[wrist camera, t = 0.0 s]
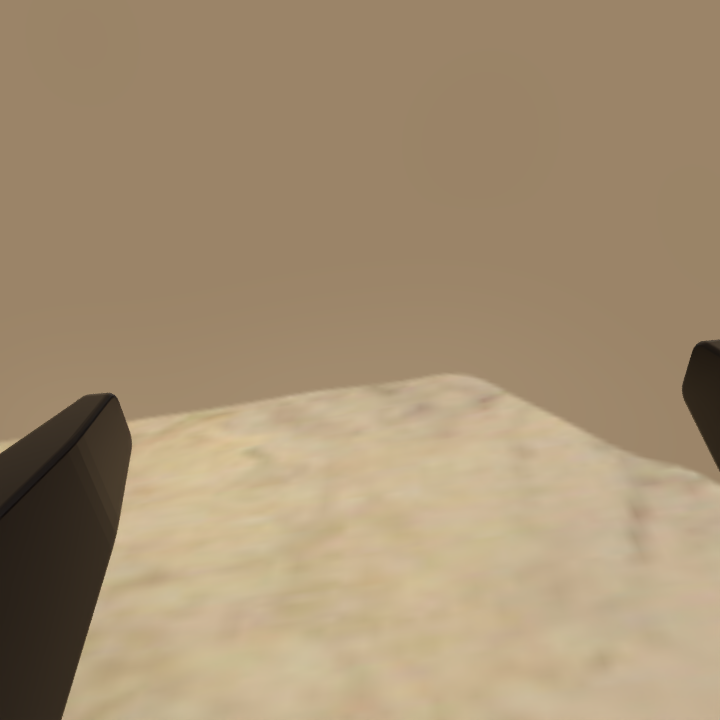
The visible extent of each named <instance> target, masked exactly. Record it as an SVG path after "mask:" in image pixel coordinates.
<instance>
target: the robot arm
mask: <svg viewBox="0 0 720 720" xmlns="http://www.w3.org/2000/svg"><path fill="white" fill-rule="evenodd" d="M682 394H683V398H684V401H685V403H686V405H687V407H688V409H689V411H690V413H691V415H692V417H693V419H694V421H695V423H696V425H697V427H698V429H699V431H700V433H701V435H702V437H703V439H704V441H705V443H706V445H707V447H708V449H709V451H710V453H711V455H712V457H713V459H714V461H715V463H716V465H717V467H718V469H719V471H720V340H711V341H701V342H699V343H698V344H696V346H695V347H694V349H693V351H692V354H691V358H690V361H689V364H688V367H687V371H686V374H685V377H684V381H683V385H682ZM131 449H132V439H131V434H130V431H129V428H128V425H127V423H126V420H125V417H124V414H123V411H122V409H121V406H120V403H119V401H118V399H117V397H116V396H115V395H113V394H112V393H101V394H90V395H85V396H83V397H82V398H80V399H79V400H77V401H76V402H75V403H73V404H72V405H70V406H69V407H67V408H66V409H64V410H63V411H61V412H60V413H59V414H57V415H56V416H54V417H53V418H51V419H50V420H48V421H47V422H46V423H44V424H43V425H41V426H40V427H38V428H37V429H35V430H34V431H32V432H31V433H30V434H28V435H27V436H25V437H24V438H22V439H21V440H19V441H18V442H16V443H15V444H14V445H12V446H11V447H9V448H8V449H6V450H5V451H3V452H2V453H1V454H0V720H62V716H63V713H64V710H65V706H66V703H67V700H68V696H69V693H70V690H71V686H72V683H73V680H74V676H75V673H76V670H77V666H78V663H79V660H80V656H81V653H82V650H83V646H84V643H85V640H86V636H87V633H88V630H89V626H90V623H91V620H92V616H93V613H94V610H95V606H96V603H97V600H98V596H99V593H100V590H101V586H102V583H103V580H104V576H105V573H106V570H107V566H108V563H109V560H110V556H111V553H112V550H113V546H114V542H115V538H116V535H117V530H118V525H119V520H120V514H121V508H122V502H123V496H124V490H125V485H126V479H127V473H128V467H129V461H130V456H131Z"/></svg>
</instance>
